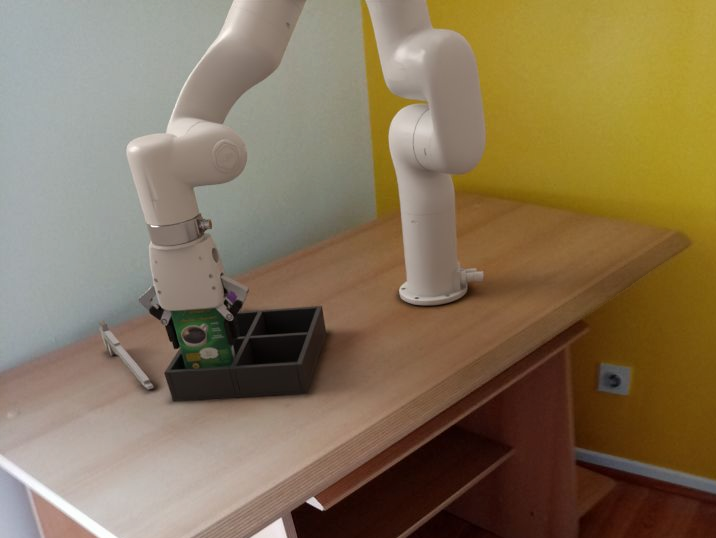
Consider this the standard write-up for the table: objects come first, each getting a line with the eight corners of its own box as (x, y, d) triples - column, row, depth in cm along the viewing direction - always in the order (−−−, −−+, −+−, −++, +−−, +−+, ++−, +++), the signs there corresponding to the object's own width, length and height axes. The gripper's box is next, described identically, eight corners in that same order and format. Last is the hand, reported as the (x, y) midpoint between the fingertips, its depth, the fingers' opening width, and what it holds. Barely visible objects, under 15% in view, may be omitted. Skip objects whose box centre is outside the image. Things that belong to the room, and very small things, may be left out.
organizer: (326, 332, 133) (321, 305, 130) (307, 393, 116) (301, 364, 113) (208, 340, 135) (201, 314, 132) (172, 401, 119) (163, 372, 116)
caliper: (107, 352, 136) (95, 319, 132) (112, 350, 137) (101, 317, 133) (148, 391, 122) (137, 356, 118) (155, 389, 123) (143, 353, 119)
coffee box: (240, 364, 122) (221, 286, 115) (238, 373, 120) (218, 293, 112) (191, 371, 123) (168, 293, 115) (188, 379, 120) (165, 301, 112)
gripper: (241, 217, 110) (265, 329, 120) (127, 227, 112) (160, 336, 122) (229, 234, 104) (255, 350, 114) (108, 244, 106) (145, 358, 116)
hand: (206, 343), depth 118 cm, fingers closed on coffee box, 8 cm apart
